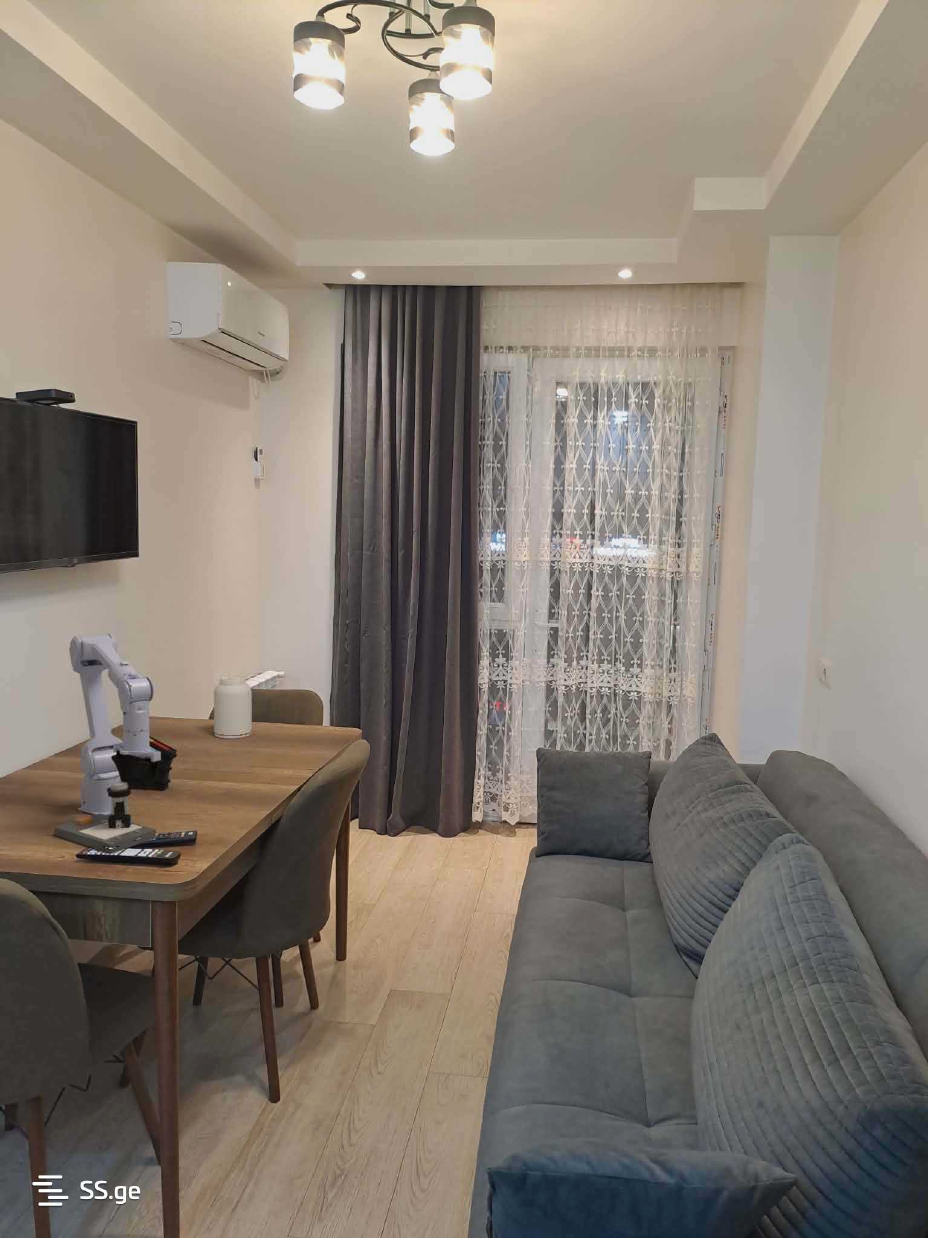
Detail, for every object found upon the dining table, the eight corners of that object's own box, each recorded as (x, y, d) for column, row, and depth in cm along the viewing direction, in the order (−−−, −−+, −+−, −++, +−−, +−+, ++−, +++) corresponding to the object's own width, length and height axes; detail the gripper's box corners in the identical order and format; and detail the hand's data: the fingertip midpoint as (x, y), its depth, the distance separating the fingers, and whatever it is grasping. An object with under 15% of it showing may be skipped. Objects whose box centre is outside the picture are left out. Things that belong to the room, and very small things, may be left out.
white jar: (215, 731, 309) (215, 674, 307) (252, 730, 311) (252, 674, 309) (212, 739, 297) (212, 680, 295) (250, 739, 299) (250, 680, 297)
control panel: (54, 835, 203) (54, 823, 203) (100, 821, 213) (99, 810, 213) (111, 853, 193) (110, 841, 193) (155, 838, 203) (155, 826, 203)
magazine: (120, 778, 244) (142, 731, 242) (162, 801, 243) (184, 754, 241) (114, 782, 240) (136, 734, 238) (156, 805, 239) (178, 757, 237)
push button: (99, 831, 200) (98, 788, 199) (104, 823, 206) (103, 781, 205) (129, 830, 202) (129, 787, 201) (134, 822, 207) (133, 780, 206)
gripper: (101, 728, 206) (102, 785, 208) (142, 737, 199) (143, 796, 200) (127, 723, 212) (128, 778, 214) (167, 731, 205) (168, 788, 206)
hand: (137, 786), depth 207 cm, fingers open, 7 cm apart
